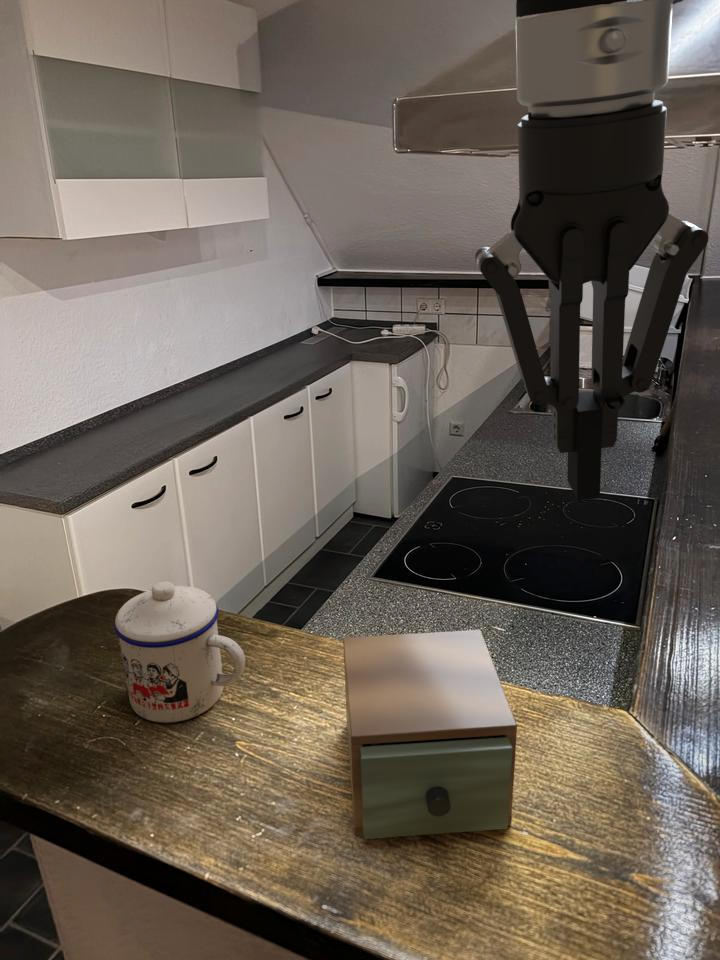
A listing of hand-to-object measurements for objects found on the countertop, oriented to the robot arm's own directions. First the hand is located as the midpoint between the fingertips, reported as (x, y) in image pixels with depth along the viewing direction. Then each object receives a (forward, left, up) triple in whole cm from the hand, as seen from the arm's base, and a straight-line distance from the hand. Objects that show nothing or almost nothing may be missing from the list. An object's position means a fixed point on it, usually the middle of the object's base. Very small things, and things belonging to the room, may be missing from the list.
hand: (583, 488), depth 52 cm
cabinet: (+11, -1, -25) cm, 27 cm away
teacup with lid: (+32, -10, -25) cm, 42 cm away
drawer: (+11, +2, -24) cm, 26 cm away
